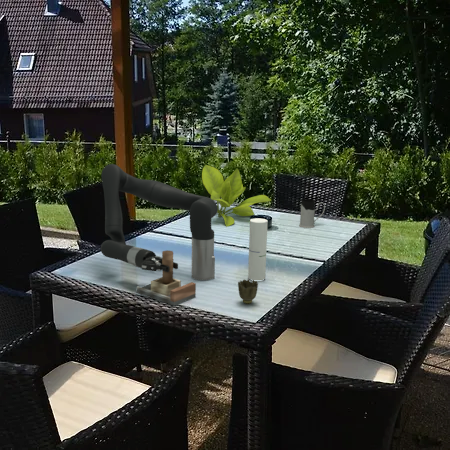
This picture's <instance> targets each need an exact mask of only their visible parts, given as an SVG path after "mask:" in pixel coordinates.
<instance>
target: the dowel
mask: <svg viewBox="0 0 450 450" xmlns="http://www.w3.org/2000/svg"><path fill="white" fill-rule="evenodd" d="M161 253H162V255H161V257H162V264H163V265H167V266H169V267H170V271H169V272H165V271H162V270H161V272H162V273H161V275H162V276H161V277H162V284H165V285H167V284H170V283H172V282H173V278H174V268H173V262H174V260H173V259H174V251H173V250H167V249H166V250H163V251H161Z"/></svg>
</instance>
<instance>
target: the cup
mask: <svg viewBox="0 0 450 450" xmlns="http://www.w3.org/2000/svg"><path fill="white" fill-rule="evenodd" d="M237 285H238V286H237V287H238V294H239V297H240V299H242V304H245V305H251V304H253V300H254V299H256V296H257V293H258V289H259V283H258V282H257V281H254V280H253V281H250V280H249V279H247V280H246V279H243V280H240V281H238V282H237Z"/></svg>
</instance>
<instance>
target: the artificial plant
mask: <svg viewBox="0 0 450 450" xmlns="http://www.w3.org/2000/svg"><path fill="white" fill-rule="evenodd" d="M201 180H202V184H203V186H204V187H205V190H206V191H207V192H208V194H209V195H210V199H212V200H213V201H216V204H217V207H218V211H217V215H218V216H217V217H218V218H221V217H222V218H223V220H224V224H225V226H226V228H227V227H230V226H232V225H233V224H235V218H233V217H232V216H230V215H231V214H234V215H237V216H239V217H250V216H254V215H255V213H254V211H253V209H252V207H251V206H253V205H254V204H260V203H266V202H271V201H272V199H271V198H269V197H268V196H267V195H265V194H260V195H255V196H252V197H249V198H247V199H245V200H244V201H242V202H240V203H239V204H237V205H235V206H233V207H231V206H232V205H233V204H234V202H235V200H237V199H238V198H239V197H240V195H242V194H243V193H244V191H245V190H246V186H243V185H244V184H243V181H242V177H241V174H240V171H239V169H238V168H236V169H235V170H234V171H233V172H232V174H231V175H229V176H228V177H227V178H226V179H225V180H224V176H223V174H222V173H221V172H220V170H218V168H216V167H213V166H211V165H207V164H206V165H204V167H202V173H201ZM228 208H229V209H228ZM226 209H227V210H226Z"/></svg>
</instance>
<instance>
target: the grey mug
mask: <svg viewBox="0 0 450 450" xmlns="http://www.w3.org/2000/svg"><path fill="white" fill-rule="evenodd" d="M321 204H323V206H324V207H323V211H322V213H321V214H320V215H319V216H318V217H316V219H315V213H316V211H317V210H318V209H319V205H321ZM316 206H317V207H316ZM315 208H316V209H315ZM325 210H326V204H325V203H324V202H318V204H317V205H316V199H313V198H312V199H310V198H303V199H301V204H300V218H299V222H300V223H299V225H298V227H300V228H304V229H312V228H315V227H316V226H315V223H316V221H317V220H318V219H320V218H321V217H322V216H323V214H324V213H325Z"/></svg>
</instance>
